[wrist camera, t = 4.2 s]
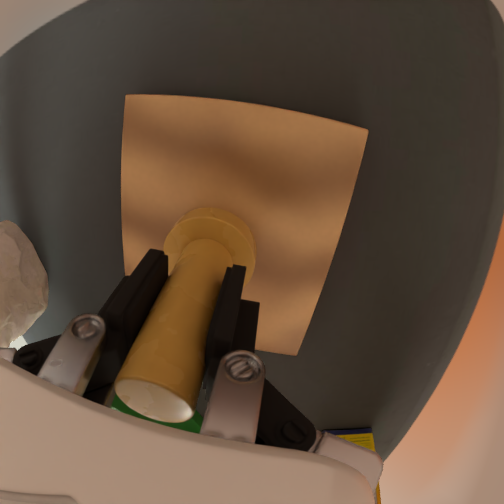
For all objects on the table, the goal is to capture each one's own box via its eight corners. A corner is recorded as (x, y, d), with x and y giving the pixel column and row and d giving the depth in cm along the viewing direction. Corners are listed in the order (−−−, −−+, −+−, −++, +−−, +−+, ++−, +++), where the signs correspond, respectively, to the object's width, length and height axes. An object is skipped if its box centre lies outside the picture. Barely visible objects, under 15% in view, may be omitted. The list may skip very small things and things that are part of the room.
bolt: (172, 200, 14) (64, 330, 6) (264, 215, 14) (240, 378, 6) (170, 275, 16) (101, 413, 8) (249, 291, 16) (224, 447, 8)
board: (138, 93, 14) (125, 94, 12) (361, 127, 13) (369, 130, 12) (138, 308, 21) (130, 321, 20) (296, 341, 21) (296, 356, 20)
